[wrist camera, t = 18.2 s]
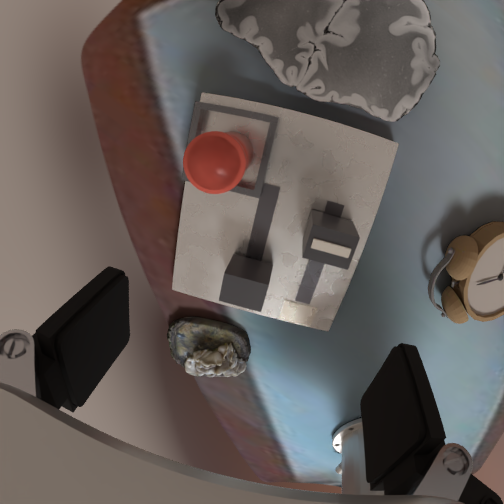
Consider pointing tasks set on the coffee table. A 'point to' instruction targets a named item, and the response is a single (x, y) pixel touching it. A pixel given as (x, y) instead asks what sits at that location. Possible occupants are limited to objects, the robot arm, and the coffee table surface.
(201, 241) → the panel
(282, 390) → the coffee table surface
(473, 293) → the alarm clock
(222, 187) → the cap
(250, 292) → the breaker
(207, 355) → the grey rough lump
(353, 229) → the block
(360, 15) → the brain slice
